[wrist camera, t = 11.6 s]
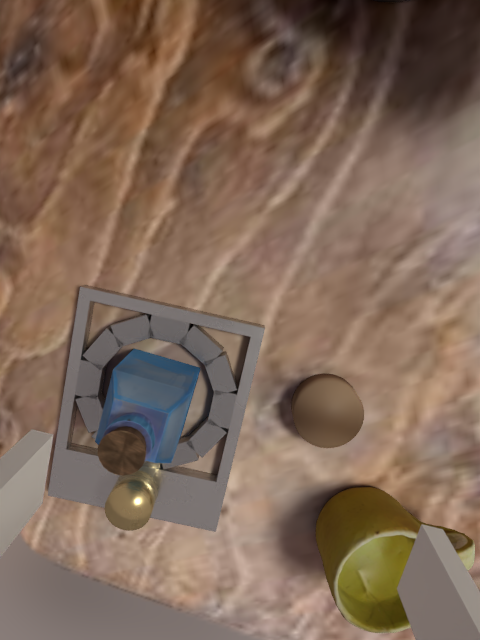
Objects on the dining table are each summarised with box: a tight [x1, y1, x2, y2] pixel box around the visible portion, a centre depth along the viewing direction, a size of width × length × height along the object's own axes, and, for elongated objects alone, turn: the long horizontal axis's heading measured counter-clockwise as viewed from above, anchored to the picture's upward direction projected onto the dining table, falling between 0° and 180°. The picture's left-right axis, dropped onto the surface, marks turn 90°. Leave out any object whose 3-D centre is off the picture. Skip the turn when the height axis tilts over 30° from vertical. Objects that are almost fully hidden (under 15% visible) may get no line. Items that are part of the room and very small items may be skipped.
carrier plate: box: [48, 285, 265, 532], centre depth 39 cm, size 20×16×4 cm
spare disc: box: [291, 374, 364, 448], centre depth 40 cm, size 6×6×2 cm
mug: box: [316, 487, 475, 633], centre depth 39 cm, size 12×10×10 cm
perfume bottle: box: [95, 349, 200, 476], centre depth 35 cm, size 6×6×12 cm
